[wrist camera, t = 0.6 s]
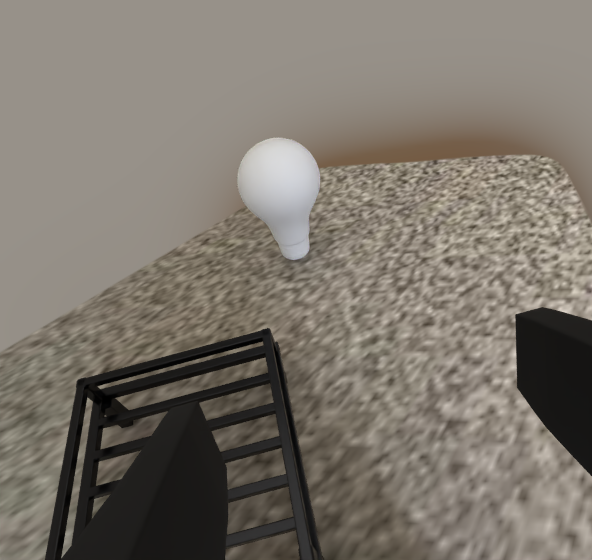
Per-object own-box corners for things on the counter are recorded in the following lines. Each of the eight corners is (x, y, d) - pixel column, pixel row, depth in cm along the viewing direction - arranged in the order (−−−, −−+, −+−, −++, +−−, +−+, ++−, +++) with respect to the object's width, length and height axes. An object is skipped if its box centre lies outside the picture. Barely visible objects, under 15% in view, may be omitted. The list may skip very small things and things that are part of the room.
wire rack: (333, 583, 21) (319, 568, 16) (97, 647, 20) (23, 649, 16) (287, 367, 29) (270, 322, 25) (120, 412, 29) (76, 375, 25)
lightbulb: (297, 293, 33) (267, 181, 25) (249, 261, 37) (209, 154, 29) (345, 249, 36) (332, 134, 28) (296, 223, 39) (272, 113, 31)
